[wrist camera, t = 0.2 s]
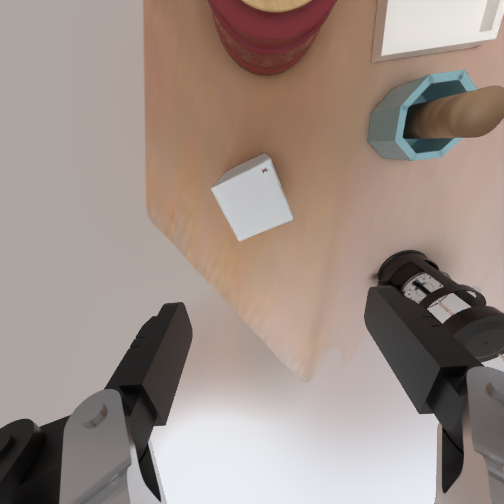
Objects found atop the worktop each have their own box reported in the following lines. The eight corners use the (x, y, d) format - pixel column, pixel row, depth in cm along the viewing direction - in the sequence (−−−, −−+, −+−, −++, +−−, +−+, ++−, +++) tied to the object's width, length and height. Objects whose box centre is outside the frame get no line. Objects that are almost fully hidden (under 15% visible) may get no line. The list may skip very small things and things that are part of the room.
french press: (435, 245, 40) (628, 354, 19) (427, 285, 44) (578, 410, 23) (370, 256, 41) (487, 369, 20) (368, 294, 45) (463, 420, 25)
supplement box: (223, 172, 34) (208, 186, 23) (266, 151, 33) (272, 155, 22) (242, 213, 37) (237, 243, 26) (282, 195, 36) (295, 220, 25)
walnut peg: (390, 108, 29) (468, 89, 19) (420, 104, 29) (517, 82, 19) (385, 141, 31) (454, 139, 21) (414, 137, 31) (498, 134, 20)
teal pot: (373, 91, 29) (405, 77, 23) (438, 82, 29) (489, 65, 23) (365, 159, 33) (391, 163, 27) (423, 152, 33) (462, 154, 26)
